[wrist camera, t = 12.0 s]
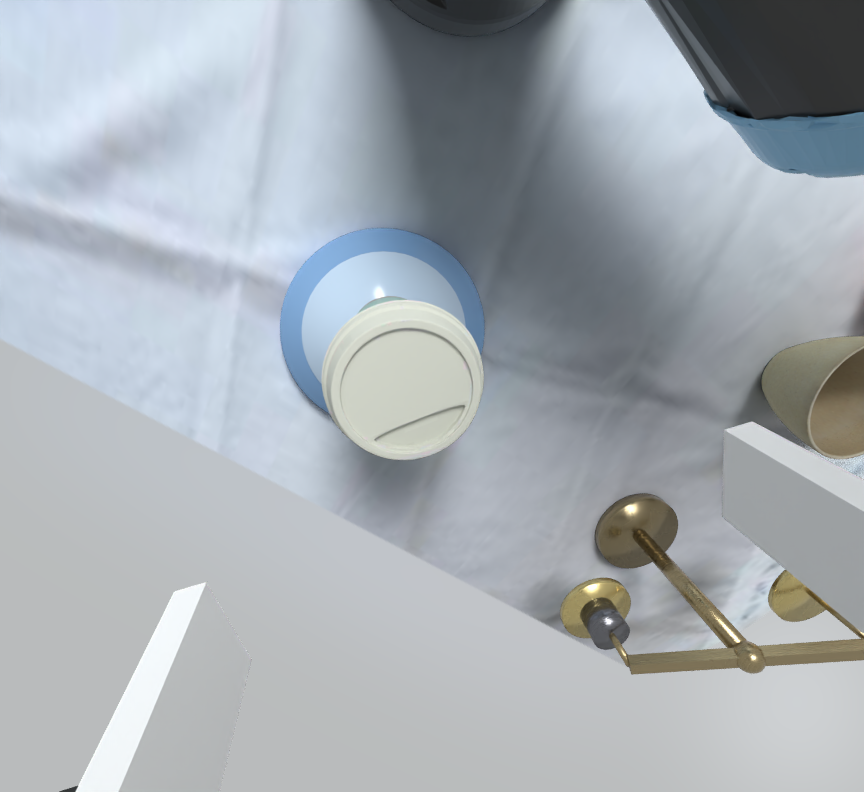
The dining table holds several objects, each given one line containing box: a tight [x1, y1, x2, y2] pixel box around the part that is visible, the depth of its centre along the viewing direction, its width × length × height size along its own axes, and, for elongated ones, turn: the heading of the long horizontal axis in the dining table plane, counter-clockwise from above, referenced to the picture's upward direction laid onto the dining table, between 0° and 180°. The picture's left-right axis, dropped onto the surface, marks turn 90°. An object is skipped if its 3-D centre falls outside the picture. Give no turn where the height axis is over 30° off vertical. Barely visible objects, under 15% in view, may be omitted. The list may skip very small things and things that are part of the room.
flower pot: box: [761, 336, 864, 459], centre depth 38 cm, size 10×10×7 cm
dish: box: [280, 228, 484, 414], centre depth 34 cm, size 15×15×1 cm
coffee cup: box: [321, 296, 484, 460], centre depth 28 cm, size 8×8×12 cm
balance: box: [560, 494, 864, 674], centre depth 37 cm, size 8×21×17 cm, turn 105°
